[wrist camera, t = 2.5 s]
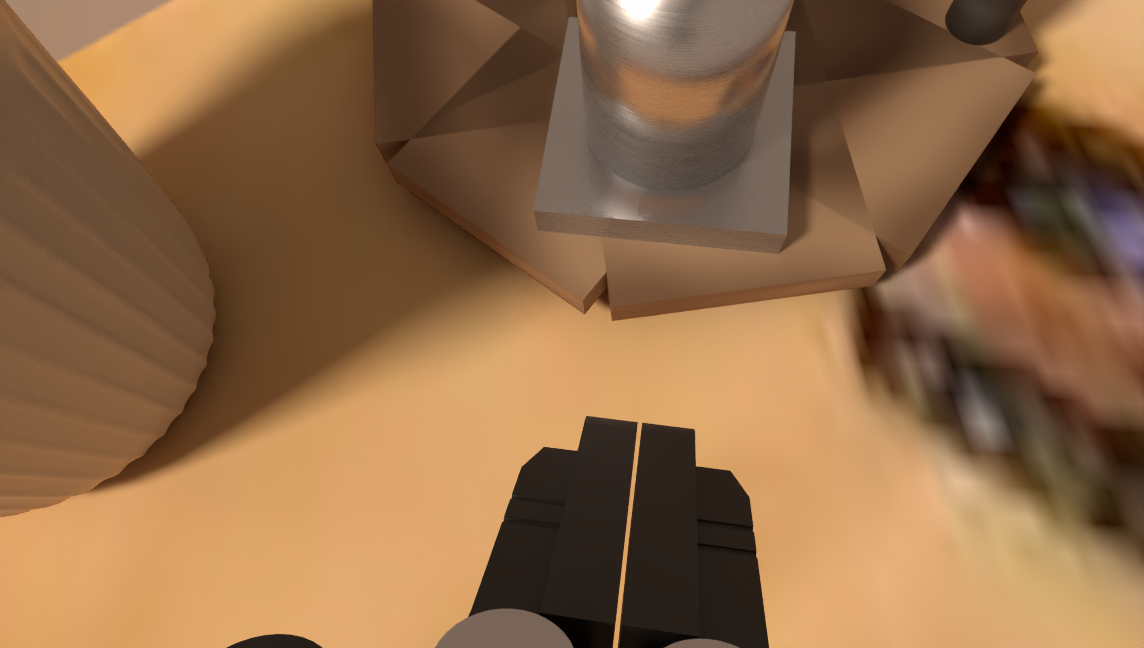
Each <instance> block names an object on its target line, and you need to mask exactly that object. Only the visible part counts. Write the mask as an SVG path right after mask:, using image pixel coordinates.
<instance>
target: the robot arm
mask: <svg viewBox="0 0 1144 648" xmlns="http://www.w3.org/2000/svg"><path fill="white" fill-rule="evenodd" d="M637 424H638V422H630V421H622V420H614V419H606V418H598V417H590V416H586V419H585V423H584V427H583V431H582V435H581V439H580V444H579V448H578V451H572V450H564V449H557V448H549V447H544V448H542V449H541V450H540V451H539V452H538V453H537V454H536V455H535V456H534V457H532V458H531V459H530V460H529V461H528V462H527V463H526V464H525V465H524V466H522V467H521V470H520V473H519V476H518V479H517V482H516V484H515V487H514V490H513V493H512V499H510V502H509V504H508V507H507V510H506V513H505V516H504V522H502V524H501V527H500V530H499V533H498V536H497V538H496V541H495V544H494V547H493V550H492V553H491V556H490V558H489V561H488V564H487V567H486V570H485V573H484V575H483V578H482V581H481V584H480V587H479V590H478V593H477V595H476V598H475V601H474V604H473V607H472V610H471V612H470V614H469V616H468V618H466V619H464V620H462V621H461V622H459V623H458V624H456V625H455V626H454V627H452V628H451V629H450V630H449V631H448V632H447V633H446V634H445V635H444V636H443V637H442V638H441V640H440V641H439V642H438V644H437V646H436V647H435V648H613V640H614V631H615V622H616V613H617V604H618V595H619V586H620V578H621V569H622V560H623V551H624V542H625V533H626V524H627V515H628V506H629V496H630V487H631V478H632V469H633V460H634V451H635V442H636V433H637ZM227 648H322V647H321V646H319V645H318V644H316V643H315V642H313V641H311V640H308V639H306V638H303V637H299V636H294V635H286V634H273V635H263V636H259V637H254V638H250V639H247V640H244V641H241V642H238V643H236V644H233V645H231V646H229V647H227ZM618 648H769V644H768V636H767V628H766V621H765V613H764V605H763V598H762V590H761V582H760V575H759V567H758V559H757V558H756V544H755V536H754V532H753V521H752V513H751V506H750V498H749V496H748V495H747V493H746V492H745V491H744V489H743V488H742V486H741V485H740V484H739V482H738V481H737V479H736V478H735V477H734V475H733V474H732V472H731V471H728V470H720V469H712V468H705V467H697V466H696V458H695V430H694V429H688V428H680V427H672V426H664V425H656V424H648V423H642V430H641V439H640V447H639V456H638V465H637V474H636V483H635V492H634V500H633V509H632V518H631V527H630V536H629V546H628V555H627V565H626V574H625V584H624V593H623V603H622V613H621V622H620V632H619V642H618Z"/></svg>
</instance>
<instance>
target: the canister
mask: <svg viewBox="0 0 1144 648" xmlns="http://www.w3.org/2000/svg"><path fill="white" fill-rule="evenodd" d="M209 275H210V270H209V264H208V262H207V259H206V257H205V255H204V254H203V252H202V250H201V249H200V245H199V243H198V240H197V237H196V236H195V234H194V232H193V231H192V229H191V227H190V226H189V225H188V223H187V222H186V220H185V219H184V218H183V217H182V215H181V214H180V213H179V211H178V210H177V208H176V207H175V206H174V204H173V203H172V201H171V200H170V199H169V198H168V196H167V195H166V194H165V192H164V191H163V190H162V189H161V187H160V186H159V185H158V184H157V182H156V181H155V180H154V179H153V177H152V176H151V175H150V174H149V172H148V171H147V170H146V169H145V167H144V166H143V165H142V163H141V162H140V161H139V160H138V158H137V157H136V156H135V155H134V153H133V152H132V151H131V150H130V149H129V147H128V146H127V145H126V144H125V142H124V141H123V140H122V139H121V137H120V136H119V135H118V134H117V133H116V131H115V130H114V129H113V128H112V127H111V125H110V124H109V123H108V122H107V121H106V119H105V118H104V117H103V116H102V115H101V113H100V112H99V111H98V110H97V109H96V107H95V106H94V105H93V104H92V103H91V102H90V100H89V99H88V98H87V97H86V96H85V95H84V93H83V92H82V91H81V90H80V89H79V88H78V86H77V85H76V84H75V83H74V82H73V81H72V79H71V78H70V77H69V76H68V75H67V74H66V72H65V71H64V70H63V69H62V68H61V66H60V65H59V64H58V63H57V62H56V61H55V60H54V58H53V57H52V56H51V55H50V54H49V52H48V51H47V50H46V49H45V48H44V46H43V45H42V44H41V43H40V42H39V40H38V39H37V38H36V37H35V36H34V35H33V33H32V32H31V31H30V30H29V29H28V28H27V26H26V25H25V24H24V23H23V21H22V20H21V19H20V18H19V17H18V16H17V14H16V13H15V12H14V11H13V10H12V8H11V7H10V6H9V5H8V4H7V2H6V1H5V0H0V517H6V516H12V515H17V514H21V513H24V512H28V511H30V510H32V509H38V508H45V507H49V506H53V505H56V504H58V503H61V502H63V501H65V500H66V499H68V498H69V497H71V496H75V495H79V494H83V493H86V492H88V491H90V490H92V489H93V488H94V487H96V486H97V485H98V484H99V483H100V482H102V481H104V480H105V479H108V478H111V477H114V476H116V475H118V474H119V473H121V472H122V471H123V470H124V468H125V467H126V466H127V465H128V464H129V463H130V462H132V461H133V460H135V459H138V458H140V457H142V456H143V455H144V454H145V453H146V451H147V449H148V448H149V447H150V446H151V445H152V444H153V443H154V442H155V441H156V440H157V439H159V438H160V437H162V436H164V435H165V434H166V432H167V429H168V427H169V425H170V424H171V423H172V421H173V420H174V419H175V418H176V417H177V416H178V415H180V414H181V413H182V412H183V408H184V406H185V404H186V402H187V400H188V399H189V397H190V396H191V394H192V393H193V392H194V391H195V390H196V389H197V382H198V379H199V376H200V374H201V372H202V371H203V369H204V368H205V367H206V366H207V354H208V351H209V348H210V346H211V345H212V343H213V340H214V338H213V333H212V329H213V323H214V322H215V319H216V311H215V308H214V304H213V300H214V295H215V290H214V285H213V283H212V280H211V279H210V277H209Z"/></svg>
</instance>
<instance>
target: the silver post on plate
mask: <svg viewBox="0 0 1144 648" xmlns="http://www.w3.org/2000/svg"><path fill="white" fill-rule="evenodd" d="M576 1H577V16H578V17H569V19H568V24H567V30H566V35H565V41H564V46H563V52H562V57H561V63H560V68H559V74H558V79H557V85H556V90H555V96H554V101H553V106H552V112H551V117H550V123H549V128H548V134H547V139H546V145H545V150H544V156H543V161H542V167H541V172H540V178H539V183H538V189H537V194H536V200H535V205H534V210H533V211H534V216H535V220H536V225H537V229H538V231H547V232H557V233H568V234H578V235H588V236H598V237H608V238H619V239H629V240H639V241H649V242H659V243H669V244H680V245H690V246H700V247H710V248H720V249H731V250H741V251H751V252H761V253H771V254H778V253H779V251H780V249H781V247H782V245H783V243H784V241H785V238H786V236H787V226H788V202H789V178H790V155H791V131H792V107H793V83H794V59H795V35H796V32H794V31H785V29H786V26H787V23H788V19H789V16H790V12H791V9H792V6H793V2H794V0H576Z"/></svg>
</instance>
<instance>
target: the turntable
mask: <svg viewBox="0 0 1144 648" xmlns="http://www.w3.org/2000/svg"><path fill="white" fill-rule="evenodd" d="M1026 1H1027V0H794V2H793V6H792V9H791V12H790V16H789V19H788V23H787V26H786V29H785V31H794V32H796V35H795V59H794V83H793V107H792V131H791V155H790V178H789V202H788V226H787V236H786V238H785V241H784V243H783V245H782V247H781V249H780V251H779V253H778V254H771V253H761V252H751V251H741V250H731V249H720V248H710V247H700V246H690V245H680V244H669V243H659V242H649V241H639V240H629V239H619V238H608V237H598V236H588V235H578V234H568V233H557V232H547V231H538V229H537V225H536V220H535V216H534V211H533V210H534V205H535V200H536V194H537V189H538V183H539V178H540V172H541V167H542V161H543V156H544V150H545V145H546V139H547V134H548V128H549V123H550V117H551V112H552V106H553V101H554V96H555V90H556V85H557V79H558V74H559V68H560V63H561V57H562V52H563V46H564V41H565V35H566V30H567V24H568V19H569V17H578V16H577V1H576V0H373V37H374V77H375V118H376V145H377V147H378V148H379V150H380V152H381V154H382V156H383V158H384V160H385V161H386V163H387V165H388V166H389V168H390V170H391V172H392V174H393V176H394V178H395V179H396V181H397V183H399V184H400V185H402V186H403V187H404V188H406V189H407V190H409V191H410V192H412V193H413V194H414V195H416V196H417V197H419V198H420V199H421V200H423V201H424V202H426V203H427V204H429V205H430V206H431V207H433V208H434V209H436V210H437V211H438V212H440V213H441V214H443V215H444V216H446V217H447V218H448V219H450V220H451V221H453V222H454V223H456V224H457V225H458V226H460V227H461V228H463V229H464V230H465V231H467V232H468V233H470V234H471V235H473V236H474V237H475V238H477V239H478V240H480V241H481V242H482V243H484V244H485V245H487V246H488V247H490V248H491V249H492V250H494V251H495V252H497V253H498V254H500V255H501V256H502V257H504V258H505V259H507V260H508V261H509V262H511V263H512V264H514V265H515V266H517V267H518V268H519V269H521V270H522V271H524V272H525V273H526V274H528V275H529V276H531V277H532V278H534V279H535V280H536V281H538V282H539V283H541V284H542V285H544V286H545V287H546V288H548V289H549V290H551V291H552V292H553V293H555V294H556V295H558V296H559V297H561V298H562V299H563V300H565V301H566V302H568V303H569V304H570V305H572V306H573V307H575V308H576V309H578V310H579V311H580V312H582V313H583V314H585V313H586V312H587V311H588V310H589V308H590V307H591V306H592V305H593V303H594V302H595V301H596V300H597V299H598V297H599V296H600V295H601V294H602V292H603V291H604V290H605V289H606V288H607V290H608V297H609V304H610V310H611V317H612V321H615V320H623V319H630V318H638V317H645V316H652V315H660V314H667V313H675V312H682V311H690V310H697V309H704V308H712V307H719V306H727V305H734V304H742V303H749V302H756V301H764V300H771V299H779V298H786V297H794V296H801V295H808V294H816V293H823V292H831V291H838V290H846V289H853V288H860V287H868V286H874V284H875V283H876V282H877V281H878V279H879V278H880V277H881V276H882V275H883V273H884V272H885V271H886V268H885V266H887V267H889V268H890V269H892V270H894V271H895V272H897V271H898V270H899V269H900V268H901V267H902V266H903V264H904V263H905V262H906V261H907V260H908V259H909V257H910V256H911V255H912V253H913V252H914V251H915V249H916V248H917V246H918V245H919V243H920V242H921V240H922V239H923V238H924V236H925V235H926V233H927V232H928V230H929V229H930V227H931V226H932V224H933V223H934V222H935V220H936V219H937V217H938V216H939V214H940V213H941V211H942V210H943V208H944V207H945V206H946V204H947V203H948V201H949V200H950V198H951V197H952V195H953V194H954V193H955V191H956V190H957V188H958V187H959V185H960V184H961V182H962V181H963V179H964V178H965V177H966V175H967V174H968V172H969V171H970V169H971V168H972V166H973V165H974V164H975V162H976V161H977V159H978V158H979V156H980V155H981V153H982V152H983V150H984V149H985V148H986V146H987V145H988V143H989V142H990V140H991V139H992V137H993V136H994V134H995V133H996V132H997V130H998V129H999V127H1000V126H1001V124H1002V123H1003V121H1004V120H1005V119H1006V117H1007V116H1008V114H1009V113H1010V111H1011V110H1012V108H1013V107H1014V105H1015V104H1016V103H1017V101H1018V100H1019V98H1020V97H1021V95H1022V94H1023V92H1024V91H1025V89H1026V88H1027V87H1028V85H1029V84H1030V82H1031V81H1032V79H1033V78H1034V76H1035V75H1036V73H1034V72H1032V71H1030V70H1028V69H1026V67H1027V66H1028V64H1029V63H1030V62H1031V60H1032V59H1033V58H1034V57H1035V55H1036V54H1037V53H1038V51H1037V49H1036V46H1035V44H1034V42H1033V40H1032V38H1031V35H1030V33H1029V31H1028V29H1027V26H1026V24H1025V22H1024V20H1023V18H1022V15H1021V13H1020V10H1021V8H1022V7H1023V5H1024V4H1025V3H1026Z"/></svg>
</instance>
